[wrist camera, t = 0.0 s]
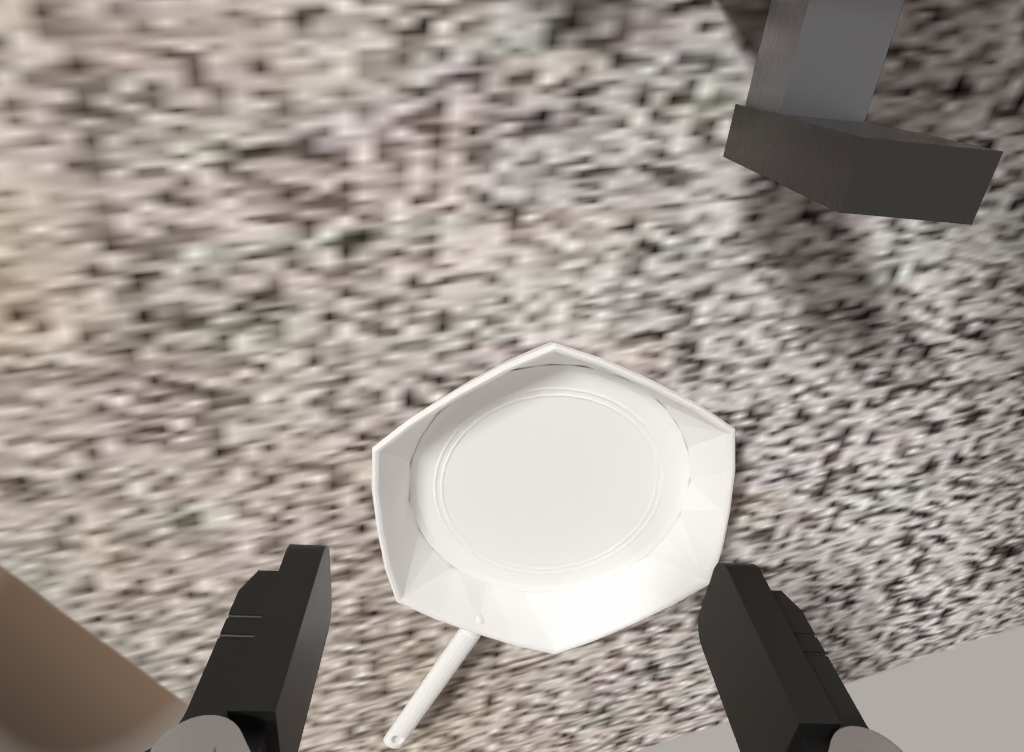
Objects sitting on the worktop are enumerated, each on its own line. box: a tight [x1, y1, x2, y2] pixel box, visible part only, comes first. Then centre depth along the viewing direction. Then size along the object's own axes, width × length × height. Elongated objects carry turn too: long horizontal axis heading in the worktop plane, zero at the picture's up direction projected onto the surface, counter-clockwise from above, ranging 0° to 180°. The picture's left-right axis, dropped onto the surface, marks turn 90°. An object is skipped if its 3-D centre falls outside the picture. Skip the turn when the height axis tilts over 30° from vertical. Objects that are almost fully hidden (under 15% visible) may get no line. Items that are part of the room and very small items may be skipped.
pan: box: [372, 343, 735, 749], centre depth 50 cm, size 28×41×4 cm
